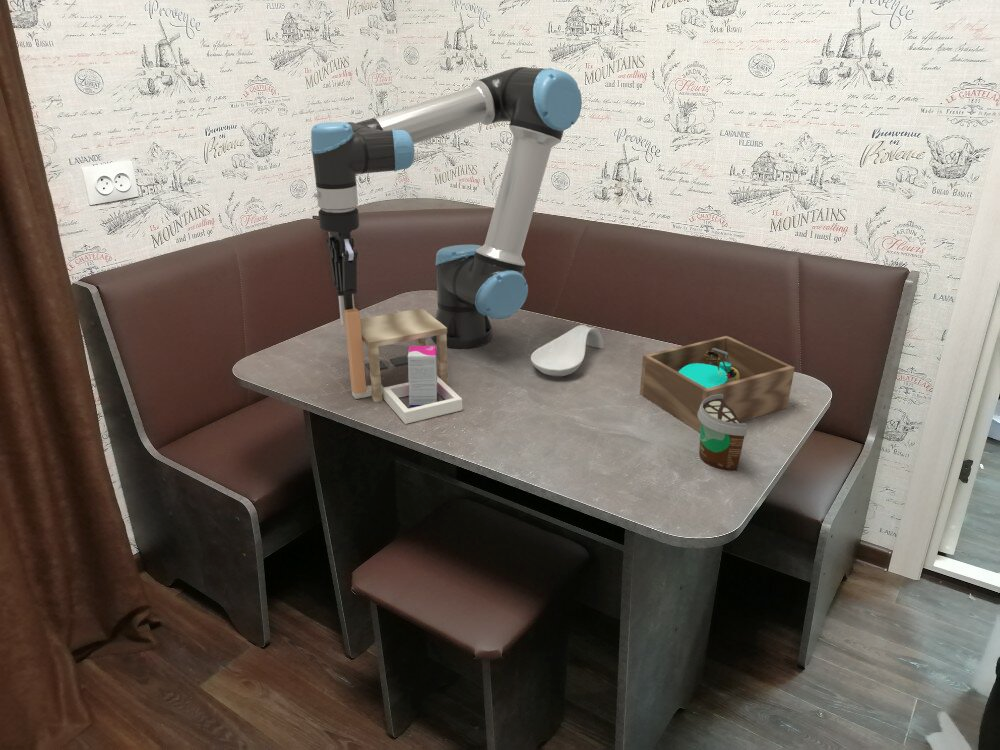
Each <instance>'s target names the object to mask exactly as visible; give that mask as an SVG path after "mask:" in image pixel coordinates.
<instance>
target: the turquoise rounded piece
mask: <svg viewBox="0 0 1000 750" xmlns="http://www.w3.org/2000/svg"><path fill="white" fill-rule="evenodd" d="M716 352H718V353H721V354H724V355H725V358H726V359H728V353H727V352H725V351H722V350H719V349H716V348H713V349H712V351H706V352H705V354H704V357H705V359H707V360H708V361H710V365H708V364H700V363H694V364H689V365H687V366H685V367H683V368H682V369H681V370H680V371H679V373H681V374H683V375H684V376H686V377H688V378H690V379H691V380H693V381H695V382H697V383H698V384H700V385H702V386H704V387H706V388H711V387H714V386H718V385H722V384H725V383H729V382H733V381H736V380H739V379H740V375H739V372H738V371H737V370H736V369H735V368H732V367H731V364H730V363H728V362H724V361H723V360H720V359H721V356H720V355H719V354H718V353H716ZM707 354H711V357H709V356H708V355H707ZM714 356H716V357H717V358H718V359H714ZM720 361H722V362H720ZM713 362H717V366H718V367H717V366H713ZM719 362H720V365H719ZM735 377H736V378H735Z"/></svg>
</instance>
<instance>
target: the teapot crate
mask: <svg viewBox="0 0 1000 750" xmlns="http://www.w3.org/2000/svg"><path fill="white" fill-rule="evenodd" d="M713 348H716V349H719V350H722V351H725V352H727V353H728V359H726V358H725V355H724V354H721V353H718V352H716V353H718V354H719V355H720V356H721V359H720V360H723V361H724V362H728V363H730V364H731V367H732V368H735V369H736V370H737V371H738V372H739V375H740V379H739V380H736V381H733V382H729V383H725V384H722V385H718V386H714V387H711V388H706V387H704V386H702V385H700V384H698V383H697V382H695V381H693V380H691V379H690V378H688V377H686V376H684V375H683V374H681V373H679V371H680V370H681V369H682V368H683V367H685V366H687V365H689V364H694V363H700V364H708V365H710V361H708V360H707V359H705V357H704V354H705V352H706V351H712V349H713ZM707 355H708V356H709V357H711V354H707ZM714 359H718V358H717V357H716V356H714ZM720 362H722V361H720ZM720 362H719V365H720ZM713 366H717V362H713ZM717 367H718V366H717ZM795 368H796V367H795V366H792V365H790V364H788V363H786V362H784V361H782V360H780V359H777V358H776V357H773V356H771V355H769V354H767V353H765V352H762V351H760V350H759V349H756V348H754V347H752V346H750V345H747V344H745V343H743V342H741V341H739V340H737V339H735V338H733V337H731V336H729V335H723V336H719V337H716V338H711V339H707V340H702V341H699V342H695V343H691V344H687V345H682V346H677V347H673V348H669V349H664V350H661V351H657V352H652V353H647V354H644V355H642V363H641V376H640V377H641V378H640V386H639V387H640V389H639V396H641V397H643V398H644V399H646V400H648V401H649V402H651V403H652V404H654V405H656V406H657V407H659V408H661V410H663V411H665V412H667V413H668V414H670V415H672V416H673V417H675V418H676V419H677V420H679V421H680V422H682V423H684V424H685V425H687V426H689V427H690V428H692V429H693V430H695V431H696V432H698V433H699V434H700V426H701V421H700V420H699V419H698V416H697V414H698V410H699V408H700V405H701V404H702V403H703V401H704V400H705V399H706V398H708V397H710V396H713V395H718V394H723V400H724V402H725V403H726V404H727V406H728V407H730V408H731V409H732V410H733V411H734V413H735V414H736V416H737V418H738V420H739V421H740V422H741V423H742V422H744V421H748V420H750V419H753V418H757V417H761V416H764V415H766V414H770V413H773V412H777V411H779V410H783V409H787V408H788V406H789V401H790V400H789V399H790V394H791V390H792V385H793V384H792V383H793V381H794V380H793V379H794V374H795ZM735 378H736V377H735Z"/></svg>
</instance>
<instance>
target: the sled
mask: <svg viewBox="0 0 1000 750" xmlns="http://www.w3.org/2000/svg"><path fill="white" fill-rule="evenodd" d="M344 314H345V324H346V325H345V332H346V343H347V353H348V355H347V356H348V363H349V364H348V365H349V377H350V387H351V395H352V397H353V398H354V399H355V400H358V399H363V398H367V397H372V388H371V385H367V383H366V375H365V374H366V373H365V361H364V349H363V341H362V335H361V323H360V319H361V314H360V311H359V310H358V309H357V308H356V307H354V308H353V309H347V310H344ZM381 390H382V400H384V401H385V402H386V404H387V405H388V406H389V407H390V408H391V409H392V411H393V412H394V413H395V414H396V416H398V418H399V419H401V421H402V422H403V424H405V425H406V424H407V425H408V424H410V423H411V424H412V423H414V422H420V421H423V420H427V419H431V418H436V417H440V416H444V415H448V414H451V413H457V412H460V411H463V398H462V397H461V396H460V395H458V394H457V393H456V392H455V391H454V390H453V389H452V388H451V387H450V386H449V384H448V385H447V384H446V383H444V382H443V381H442V380H441V379H440V378H439V377H438V375H437V394H439V395H440V396H441V397H442V398H443V399H444V400H440V401H437V402H435V403H431V404H427V405H422V406H418V407H409V408H408V407H407V406H406V405H405V403H403V402H402V400H401V399H400V398H404V397H407V396H408V397H409V381H407V382H404V383H399V384H394V385H389V386H385V387H384V385H382V384H381Z"/></svg>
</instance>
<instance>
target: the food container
mask: <svg viewBox="0 0 1000 750" xmlns="http://www.w3.org/2000/svg"><path fill="white" fill-rule="evenodd" d="M697 416H698V419H699V420H700V421H701V426H700V433H699V452H698V453H699V454H698V455H699V459H701V461H702V462H703V463H705V464H706V465H708V466H710V467H712V468H714V469H717V470H722V471H726V472H727V471H728V472H737V471H738V467H739V464H740V460H741V459H740V457H741V454H742V449H743V444H744V440H745V437H747V436H748V435H747V434H748V431H747V430H748V425H747V424H748V423H742V421H741V422H740V421H739V420H738V418H737V416H736V414H735V413H734V411H733V410H732V409H731V408H730V407H728V406H727V404H726V403H725V402H724V400H723V394H718V395H713V396H710V397H708V398H706V399H705V400H704V401H703V403H702V404H701V405H700V408H699V410H698V414H697Z"/></svg>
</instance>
